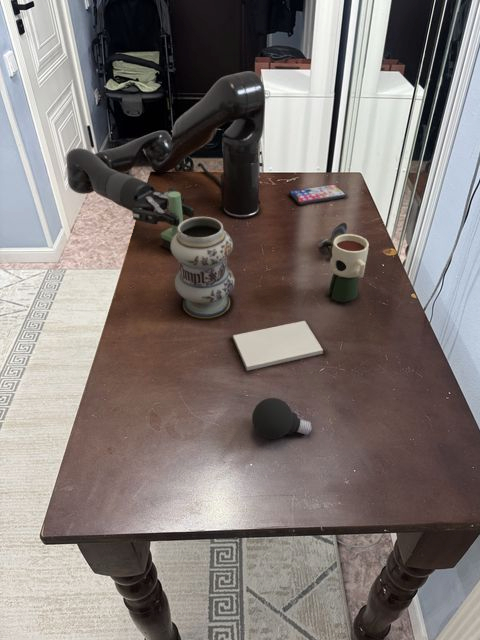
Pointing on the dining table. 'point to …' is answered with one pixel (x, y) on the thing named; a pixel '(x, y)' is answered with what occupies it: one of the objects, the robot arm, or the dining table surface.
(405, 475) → the dining table surface
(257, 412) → the light bulb
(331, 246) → the eagle figurine
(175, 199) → the scrub brush
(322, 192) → the smartphone
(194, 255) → the apothecary jar
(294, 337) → the white tile
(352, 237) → the character mug
